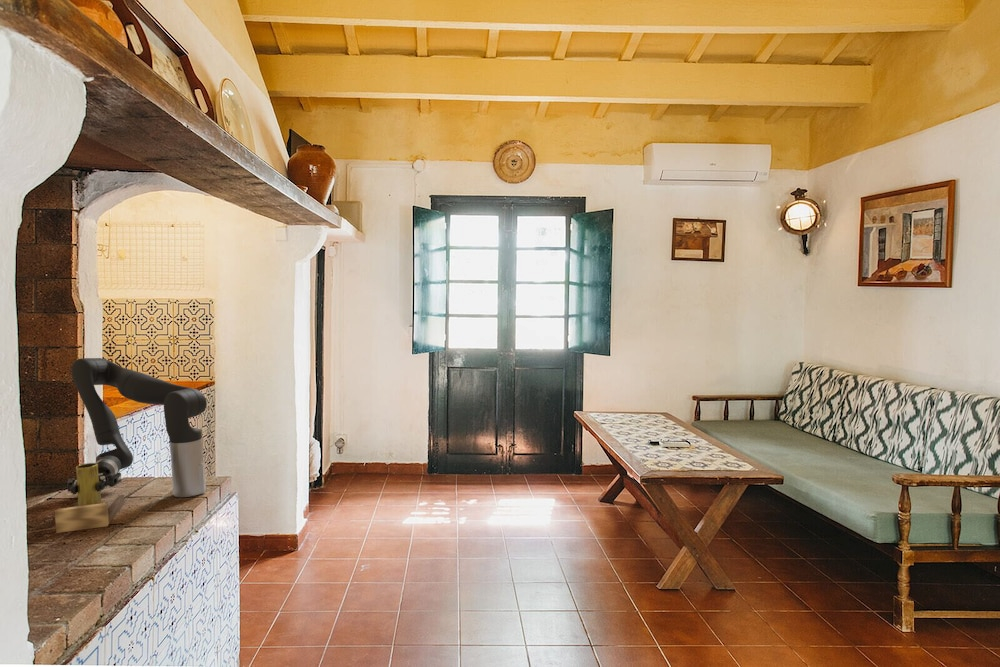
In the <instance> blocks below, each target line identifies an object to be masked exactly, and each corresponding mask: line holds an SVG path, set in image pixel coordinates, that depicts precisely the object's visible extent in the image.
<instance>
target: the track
mask: <svg viewBox="0 0 1000 667" xmlns="http://www.w3.org/2000/svg"><path fill="white" fill-rule="evenodd" d="M125 502H126V501H125V494H118V495H117V497H116V498H114V500H113V501H112V503H111V504H110V505H109V504H108V502H102V503H101V504H93V505H85V506H78V501H77V502H76V503H75V504H74V505H72V506H70V507H61V508H56V509H55V510H54V519H55V520H54V521H55V532H56V534H58V533H66V532H67V533H68V532H72V531H82V530H88V529H95V528H103V527H108V526H109V524H110V523H112V520H113V519H114V518H115V516H116V515H117V513H118V512H119V511H120V510H121V509H122V507H123V506H124V504H126V503H125ZM108 505H109V506H108Z"/></svg>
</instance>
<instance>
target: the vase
mask: <svg viewBox="0 0 1000 667" xmlns="http://www.w3.org/2000/svg"><path fill="white" fill-rule="evenodd" d="M75 472H76V480H77V485H78V492H77V502H78V506H85V505H93V504H101V503H103V502H102V501H103V500H102V495H101V491H98V492H97V483H98V482H99V474H98V464H97V463H95V462H88V463H82V464H79V465H76V466H75Z"/></svg>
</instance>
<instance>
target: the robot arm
mask: <svg viewBox="0 0 1000 667" xmlns="http://www.w3.org/2000/svg"><path fill="white" fill-rule="evenodd" d="M70 373H71V377H72V382H73V384H74V386H75V389H76V390H77V392H78V395H79V396H80V399H81V401H82V403H83V405H84V407H85V410H86V412H87V414H88V416H89V418H90V421H91V422H90V423H91V425H92V430H93V433H94V436H95V441H96V443H97V445H99V446H107V445H108V446H109V445H114V446H115V448H114V449H112V450H111V449H110V450H108V451H106V452H105V451H104V452H102V453H99V454H98V455H97V456H96V458H95V462H94V463H97V464H98V474H99V482H98V483H97V492H98V491H100V492H101V491H102V490H104V489H106V488H108V487H109V488H112V487H115V486H116V485H118V484H119V483H121V482H122V472H120V470H123V469H126V468H129V467H131V466H132V464H133V462H134V456H133V453H132V452H131V450H130V448H128V446H127V444H126V443H125V441H124V439H123V436H122V434H121V432H120V427H119V425H118V424H119V423H118V420H117V418H116V416H115V414H114V412H113V411H112V409H110V407H109V406H108V405H107V403H105V402H104V401H103V399H102V398H101V397H100V395H99V394H98V392H97V390H96V387H95V386H109V387H113V388H116V389H117V390H118V393H119V394H120V395H121V396H122V397H124V398H126V399H129V400H130V401H134V402H136V403H141V404H146V405H147V404H148V405H159V406H161V405H162V406H163V413H164V414H163V415H164V421H165V422H164V423H165V429H166V433H167V435H168V439H169V450H170V462H171V463H170V464H171V477H172V493H173V497H175V498H187V497H188V498H189V497H194V496H198V495H202V494H203V495H204V494H205V493H206V490H207V482H206V466H205V465H206V464H205V459H204V448H203V435H202V430H201V429H200V428H197V427H192V426H190V421H189V419H190V418H194V417H198V416H199V415H201V414H202V413H204V412H205V410H206V409H207V403H208V402H207V399H206V396H205V395H204V394H203V392H201V391H200V390H199V389H196V388H193V387H189V386H183V385H178V384H175V383H171V382H168V381H165V380H163V379H160V378H157V377H154V376H151V375H149V374H146V373H144V372H140V371H137V370H134V369H129V368H125V367H123V366H120V365H119V364H117V363H114V362H113V361H111V360H109V359H106V358H103V357H102V358H101V357H90V358H89V357H86V358H85V357H83V358H77V359H76V360H75V361H74V362H73V363H72V365H71V370H70ZM66 483H67V484H66V486H67V492H69V493H71V494H72V495H76V494H78V485H77V479H75V478H74V477H69V478H68V479H67V482H66Z"/></svg>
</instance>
